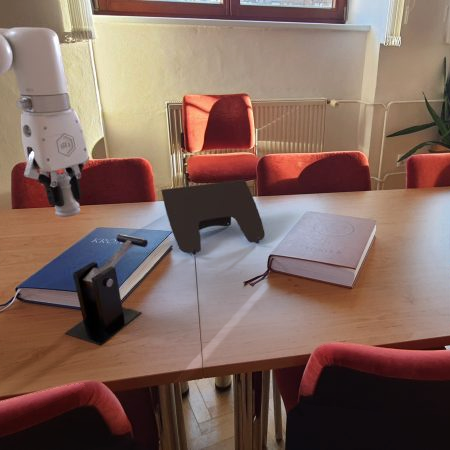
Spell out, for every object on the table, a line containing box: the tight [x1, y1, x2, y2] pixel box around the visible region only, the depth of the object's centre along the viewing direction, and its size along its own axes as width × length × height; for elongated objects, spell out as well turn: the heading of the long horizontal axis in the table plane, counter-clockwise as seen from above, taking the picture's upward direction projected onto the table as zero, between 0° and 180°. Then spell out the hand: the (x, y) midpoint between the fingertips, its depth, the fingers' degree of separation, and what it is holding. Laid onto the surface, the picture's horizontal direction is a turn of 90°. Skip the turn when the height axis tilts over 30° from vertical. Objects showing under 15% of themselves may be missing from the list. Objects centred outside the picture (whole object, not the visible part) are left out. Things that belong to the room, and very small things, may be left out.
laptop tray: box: [160, 179, 266, 258], centre depth 115 cm, size 23×23×9 cm
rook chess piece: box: [54, 171, 81, 218], centre depth 85 cm, size 4×4×8 cm
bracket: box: [64, 261, 143, 347], centre depth 77 cm, size 10×8×12 cm
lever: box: [83, 233, 149, 290], centre depth 79 cm, size 12×6×2 cm, turn 159°
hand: (65, 200), depth 85 cm, fingers closed on rook chess piece, 3 cm apart
